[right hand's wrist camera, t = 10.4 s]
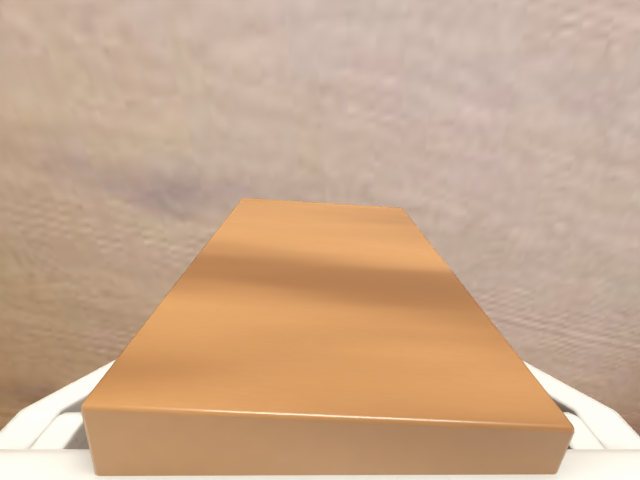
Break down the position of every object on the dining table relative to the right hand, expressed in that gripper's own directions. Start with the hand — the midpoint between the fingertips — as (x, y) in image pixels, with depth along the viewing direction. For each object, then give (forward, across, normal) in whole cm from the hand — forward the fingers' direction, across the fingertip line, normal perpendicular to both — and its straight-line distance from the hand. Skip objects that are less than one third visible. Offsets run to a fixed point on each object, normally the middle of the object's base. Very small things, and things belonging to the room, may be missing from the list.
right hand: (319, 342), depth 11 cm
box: (+5, -1, -11) cm, 12 cm away
